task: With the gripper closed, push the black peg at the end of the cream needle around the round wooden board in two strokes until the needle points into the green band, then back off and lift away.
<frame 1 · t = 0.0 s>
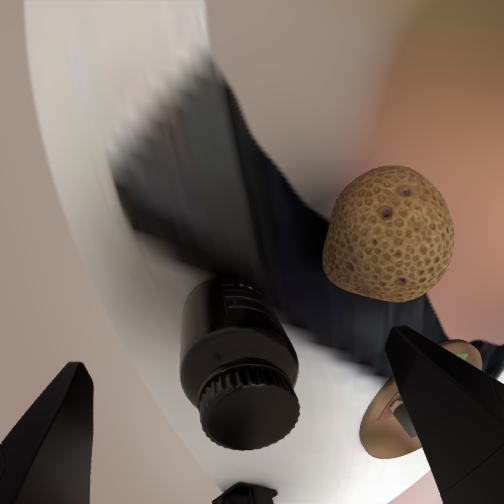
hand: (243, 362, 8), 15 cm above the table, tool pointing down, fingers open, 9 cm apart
supplement bottle: (226, 312, 25), on the table
natural sponge: (355, 220, 25), on the table
needle: (427, 419, 28), point 4 cm above the table, hinge at 100.0°
round wooden board: (424, 403, 32), on the table
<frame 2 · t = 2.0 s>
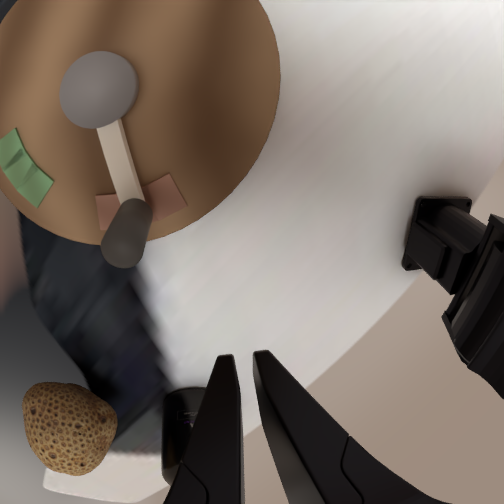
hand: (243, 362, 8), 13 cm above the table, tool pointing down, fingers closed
supplement bottle: (194, 403, 30), on the table
natural sponge: (74, 382, 26), on the table
needle: (105, 150, 13), point 4 cm above the table, hinge at 100.0°
round wooden board: (110, 88, 15), on the table
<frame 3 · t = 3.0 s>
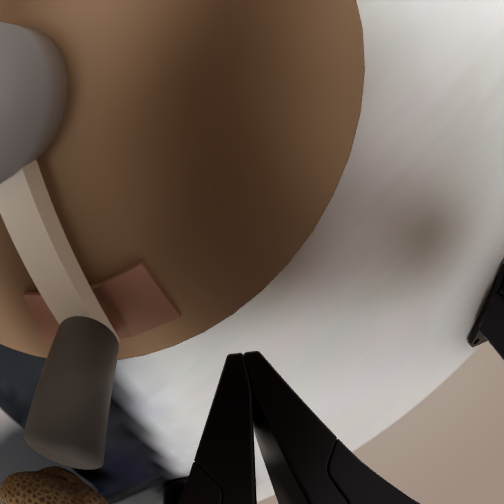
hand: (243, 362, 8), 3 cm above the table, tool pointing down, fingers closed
supplement bottle: (200, 485, 22), on the table
natural sponge: (57, 463, 18), on the table
round wooden board: (30, 96, 7), on the table
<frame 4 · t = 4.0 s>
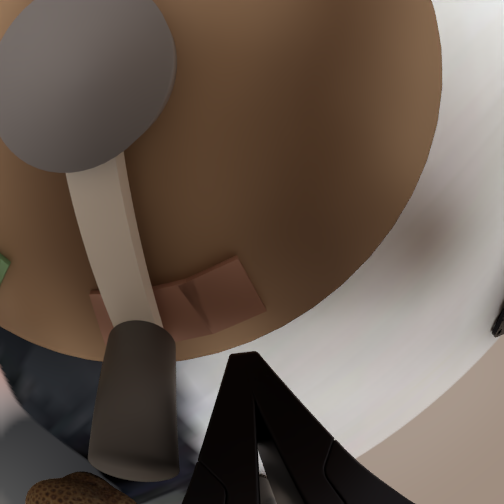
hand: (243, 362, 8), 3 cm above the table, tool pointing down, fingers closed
supplement bottle: (230, 483, 22), on the table
natural sponge: (83, 468, 18), on the table
needle: (80, 242, 5), point 4 cm above the table, hinge at 92.1°, touching gripper
round wooden board: (108, 74, 7), on the table
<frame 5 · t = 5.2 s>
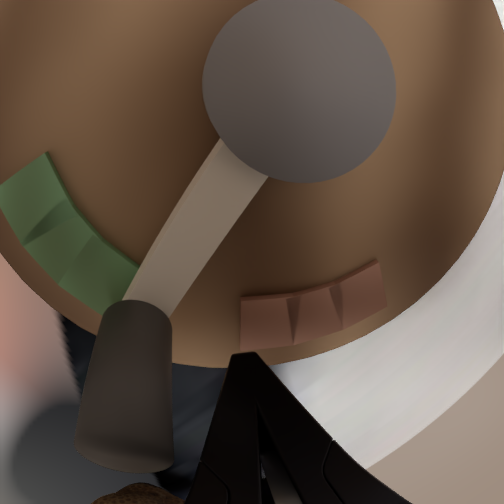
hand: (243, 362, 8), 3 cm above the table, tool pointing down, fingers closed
supplement bottle: (285, 480, 23), on the table
natural sponge: (139, 479, 19), on the table
needle: (222, 231, 6), point 4 cm above the table, hinge at 53.4°, touching gripper
round wooden board: (273, 86, 8), on the table
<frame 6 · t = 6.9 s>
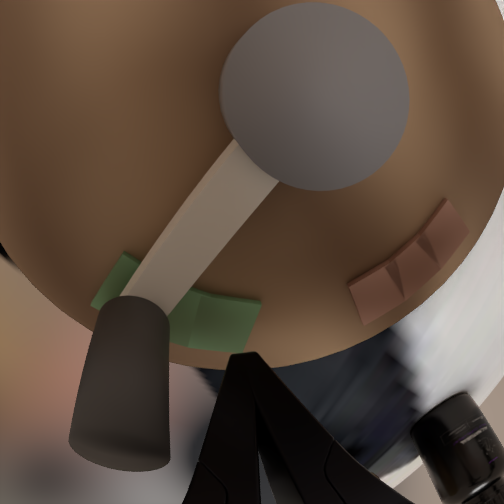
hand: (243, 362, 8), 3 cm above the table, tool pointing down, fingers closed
supplement bottle: (438, 413, 22), on the table
needle: (233, 232, 6), point 4 cm above the table, hinge at 19.5°, touching gripper
round wooden board: (286, 92, 8), on the table
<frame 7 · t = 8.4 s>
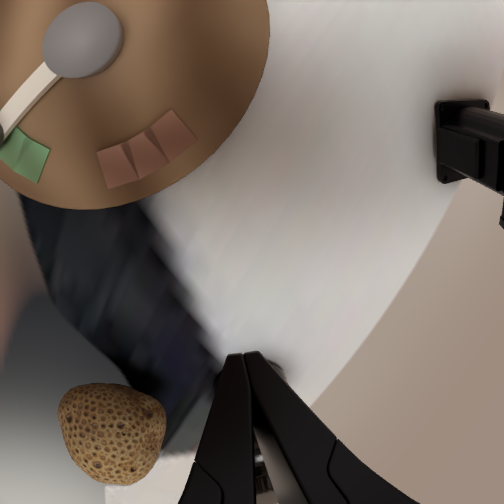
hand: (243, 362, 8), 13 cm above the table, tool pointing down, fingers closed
supplement bottle: (247, 380, 28), on the table
natural sponge: (114, 383, 25), on the table
needle: (24, 83, 10), point 4 cm above the table, hinge at 19.4°
round wooden board: (95, 45, 13), on the table
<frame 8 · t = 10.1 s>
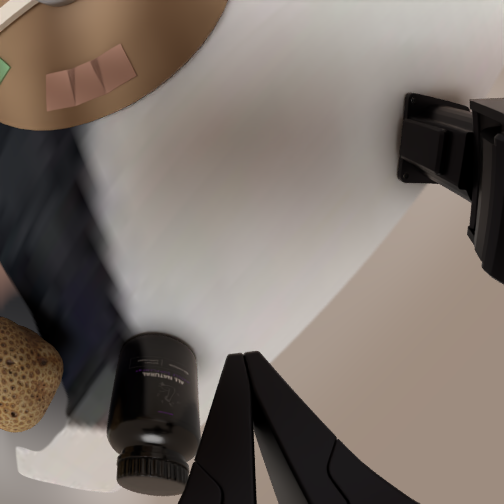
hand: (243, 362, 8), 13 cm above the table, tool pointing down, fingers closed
supplement bottle: (157, 357, 26), on the table
natural sponge: (25, 327, 22), on the table
needle: (3, 0, 7), point 4 cm above the table, hinge at 19.4°
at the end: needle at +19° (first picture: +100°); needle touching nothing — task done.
